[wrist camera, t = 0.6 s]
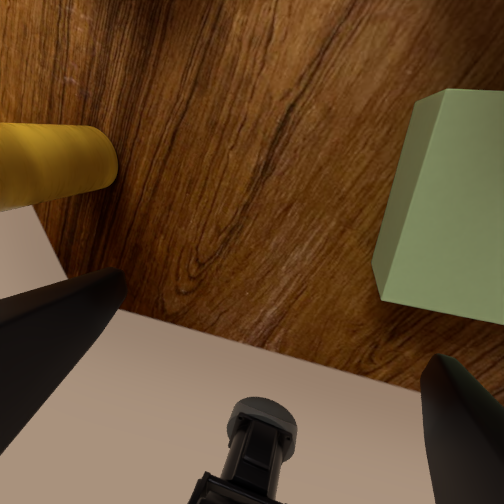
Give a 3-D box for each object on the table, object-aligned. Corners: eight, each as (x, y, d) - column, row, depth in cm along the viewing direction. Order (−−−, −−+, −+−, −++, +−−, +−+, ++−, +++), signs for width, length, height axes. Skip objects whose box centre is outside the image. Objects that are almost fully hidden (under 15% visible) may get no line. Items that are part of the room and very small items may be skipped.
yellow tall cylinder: (118, 195, 23) (-99, 255, 12) (69, 180, 24) (-180, 222, 12) (118, 133, 21) (-146, 132, 10) (65, 119, 22) (-239, 102, 10)
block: (540, 292, 17) (610, 347, 13) (370, 263, 20) (380, 300, 15) (643, 113, 13) (795, 103, 9) (414, 101, 16) (446, 88, 11)
